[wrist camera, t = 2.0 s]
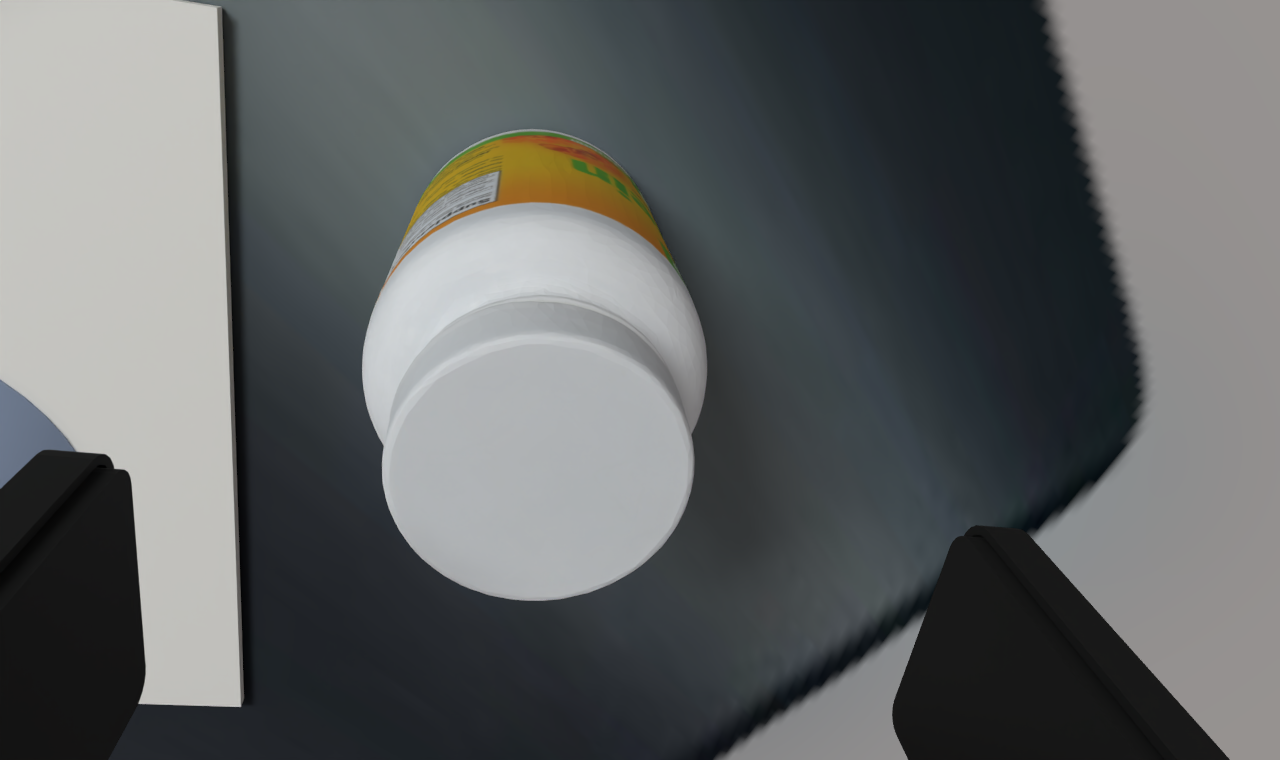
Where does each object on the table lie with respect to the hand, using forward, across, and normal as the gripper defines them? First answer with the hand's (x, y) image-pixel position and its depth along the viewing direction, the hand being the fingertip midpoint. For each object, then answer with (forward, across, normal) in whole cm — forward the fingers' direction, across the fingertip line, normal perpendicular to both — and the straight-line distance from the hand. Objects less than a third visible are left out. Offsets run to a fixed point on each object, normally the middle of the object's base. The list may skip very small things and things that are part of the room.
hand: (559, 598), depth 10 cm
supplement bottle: (+11, 0, -1) cm, 11 cm away
